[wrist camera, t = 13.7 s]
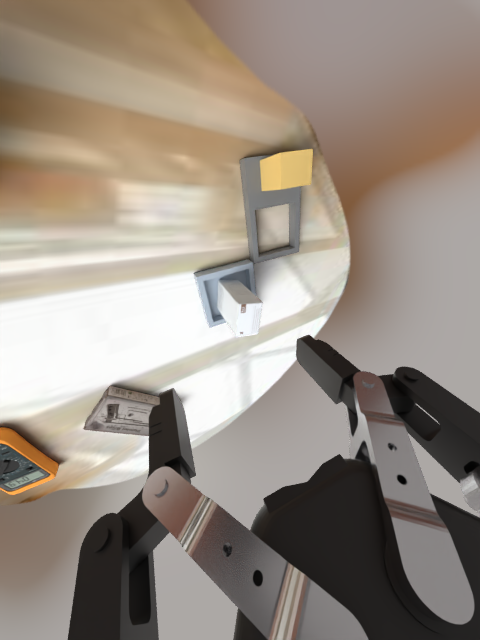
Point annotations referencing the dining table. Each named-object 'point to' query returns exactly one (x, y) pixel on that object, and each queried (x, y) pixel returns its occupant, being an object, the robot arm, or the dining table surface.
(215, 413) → the dining table surface
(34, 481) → the multimeter
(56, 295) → the dining table surface
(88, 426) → the box
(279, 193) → the block
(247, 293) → the skincare box
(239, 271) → the tray
